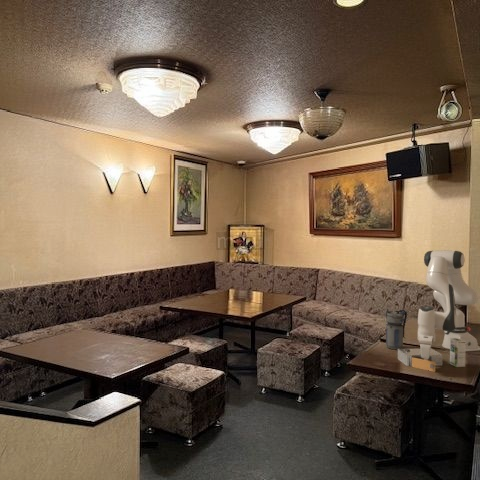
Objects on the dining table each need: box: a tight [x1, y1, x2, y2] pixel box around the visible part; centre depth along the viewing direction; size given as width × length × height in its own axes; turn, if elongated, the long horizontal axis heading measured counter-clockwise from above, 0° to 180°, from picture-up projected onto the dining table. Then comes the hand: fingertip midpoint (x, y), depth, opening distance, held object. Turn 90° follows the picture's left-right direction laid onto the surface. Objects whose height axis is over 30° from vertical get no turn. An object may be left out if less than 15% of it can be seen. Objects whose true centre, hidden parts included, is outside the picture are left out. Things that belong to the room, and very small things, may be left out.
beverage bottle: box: [384, 308, 408, 351], centre depth 258 cm, size 10×13×25 cm
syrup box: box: [449, 338, 466, 368], centre depth 225 cm, size 6×6×14 cm
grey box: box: [397, 347, 443, 367], centre depth 231 cm, size 20×14×7 cm
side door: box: [409, 356, 436, 373], centre depth 219 cm, size 13×2×5 cm, turn 47°
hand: (426, 362), depth 220 cm, fingers closed
